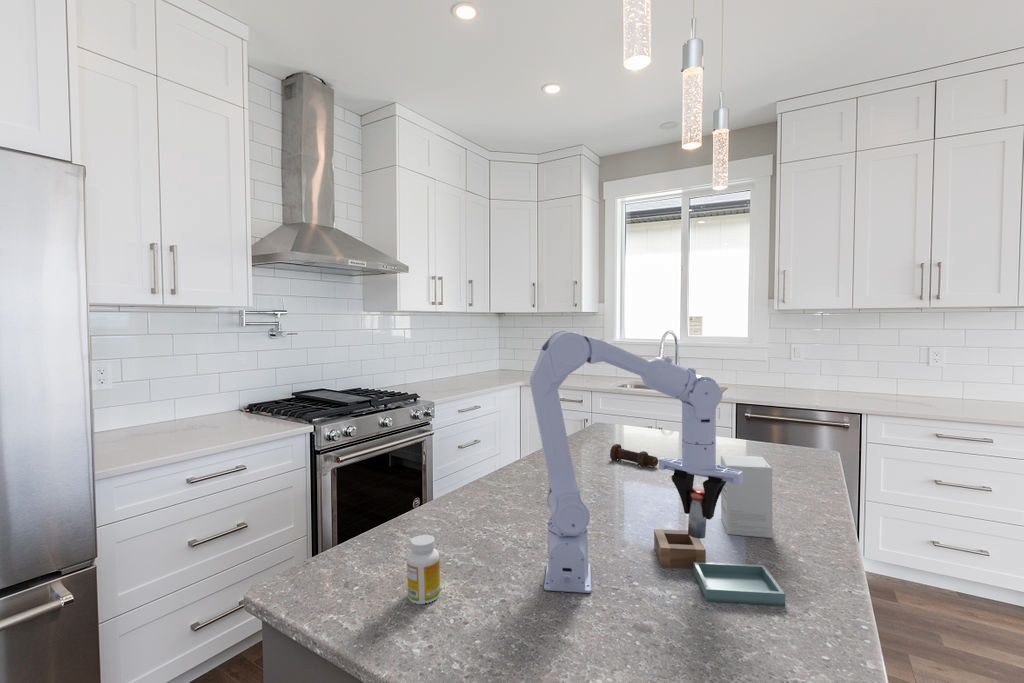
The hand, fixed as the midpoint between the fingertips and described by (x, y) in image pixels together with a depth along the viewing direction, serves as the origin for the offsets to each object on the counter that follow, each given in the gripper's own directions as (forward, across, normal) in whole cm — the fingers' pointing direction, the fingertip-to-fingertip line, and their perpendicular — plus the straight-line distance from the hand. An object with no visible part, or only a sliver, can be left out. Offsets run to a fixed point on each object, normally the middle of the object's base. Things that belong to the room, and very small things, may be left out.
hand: (698, 514), depth 88 cm
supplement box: (+10, -1, -24) cm, 26 cm away
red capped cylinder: (+4, 0, 0) cm, 4 cm away
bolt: (+11, +41, -52) cm, 67 cm away
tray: (+10, -7, +2) cm, 13 cm away
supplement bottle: (+10, +32, +38) cm, 51 cm away
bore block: (+10, +5, -2) cm, 11 cm away
